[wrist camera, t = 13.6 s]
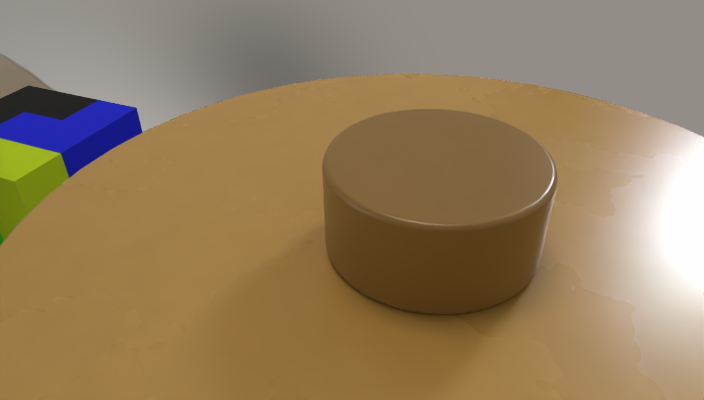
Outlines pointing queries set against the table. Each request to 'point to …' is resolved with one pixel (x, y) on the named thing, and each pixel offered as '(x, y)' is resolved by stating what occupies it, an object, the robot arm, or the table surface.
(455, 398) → the lidded wooden canister
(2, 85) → the table surface
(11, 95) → the puzzle toy
